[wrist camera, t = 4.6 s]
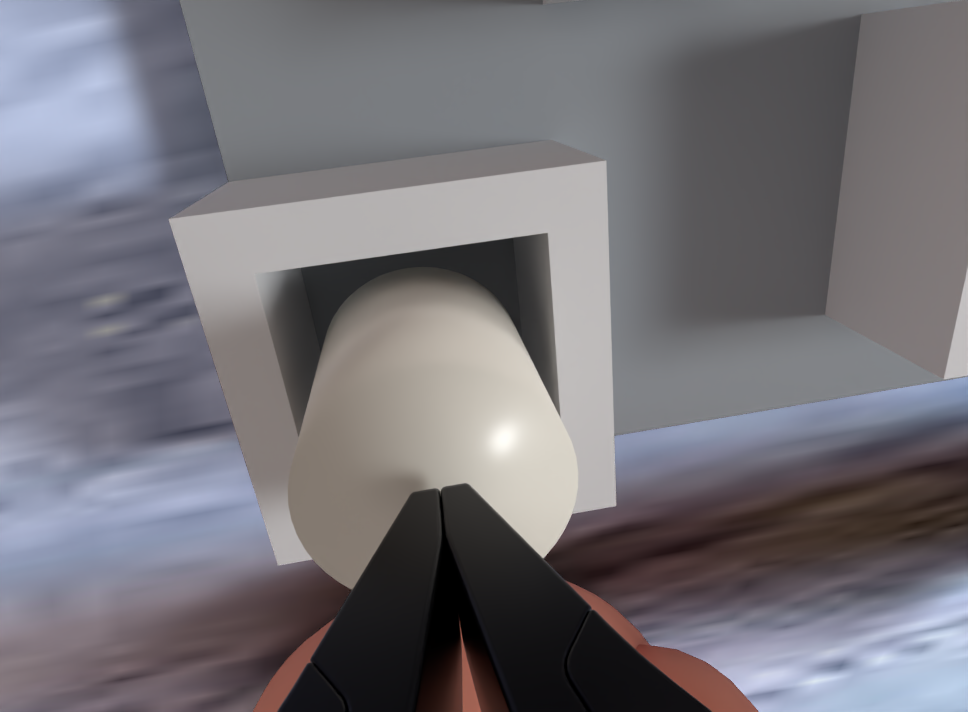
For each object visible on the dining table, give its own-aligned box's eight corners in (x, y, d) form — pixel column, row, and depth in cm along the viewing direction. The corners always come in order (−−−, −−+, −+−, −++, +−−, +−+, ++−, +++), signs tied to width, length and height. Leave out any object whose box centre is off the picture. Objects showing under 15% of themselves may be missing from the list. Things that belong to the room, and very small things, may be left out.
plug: (527, 430, 15) (584, 579, 11) (344, 460, 15) (322, 627, 10) (510, 253, 13) (570, 341, 9) (301, 282, 13) (253, 391, 9)
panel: (1004, 346, 22) (1203, 433, 17) (316, 459, 20) (288, 598, 15) (1212, -481, 14) (1739, -840, 8) (89, -414, 12) (-160, -815, 7)
